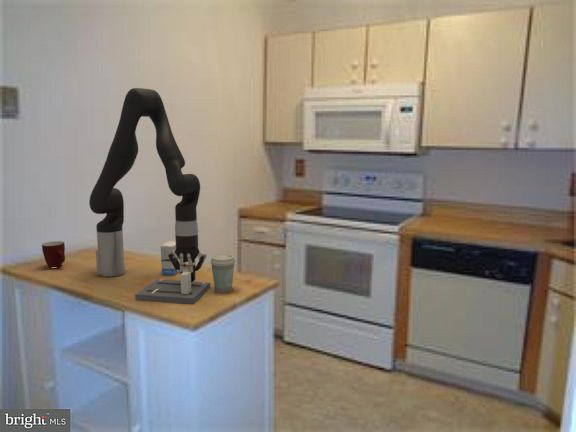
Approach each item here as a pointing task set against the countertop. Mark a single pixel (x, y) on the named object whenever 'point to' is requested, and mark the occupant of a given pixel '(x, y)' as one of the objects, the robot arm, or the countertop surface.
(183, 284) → the fader
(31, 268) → the countertop surface
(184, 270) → the fader
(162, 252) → the ink box
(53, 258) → the mug
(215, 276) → the coffee cup
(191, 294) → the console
